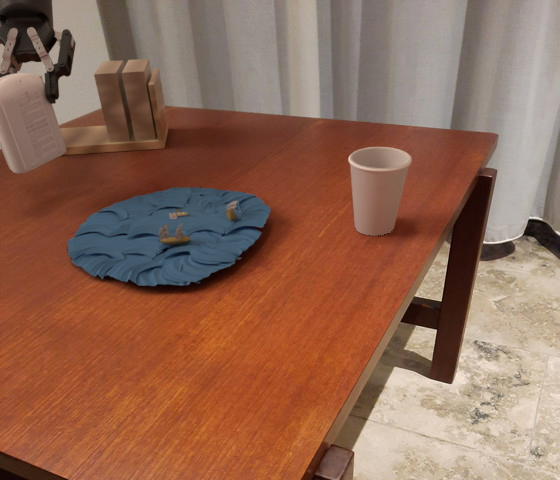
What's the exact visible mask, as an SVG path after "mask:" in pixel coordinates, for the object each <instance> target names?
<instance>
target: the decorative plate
mask: <svg viewBox="0 0 560 480" xmlns="http://www.w3.org/2000/svg"><path fill="white" fill-rule="evenodd" d="M271 210H272V209H271V206H268V205H267V204H266V203H265V202H264V201H263V199H261V198H260V197H258V196H256V195H255V194H254V193H246V192H245V191H240V190H239V191H236V190H227V189H218V188H215V187H213V188H211V187H200V186H195V187H194V186H192V187H189V186H185V187H181V186H180V187H179V186H176V187H175V186H174V187H170V188H167V189H165V190H157V191H155V192H152V193H146V194H143V195H135V196H133V197H129V198H128V199H123V200H122V201H116V202H114V203H113V204H111V205H110V206H106V207H102V208H101V209H100V211H95V212H94V213H91V214H90V215H89V216H88V217H87V219H86V220H85V221H84V222H83V223H81V224H80V225H79V227H78V230H76V231H75V232H74V237H71V238H69V239H68V241H67V246H68V248H67V253H68V257H69V258H71V260H70V262H72V264H74V265H75V266H77V267H81V268H82V270H84V271H85V272H86V273H88V274H89V275H90V276H93V277H94V278H95V277H97V276H98V277H100V279H101V280H104V277H107V276H109V277H110V278H114V279H116V280H119V281H121V282H125V283H128V281H130V282H131V283H134V284H136V285H137V286H142V287H143V286H144V287H146V286H149V287H156V286H157V285H164V286H165V285H170V286H171V285H172V286H179V287H180V286H181V287H183V286H189V285H190V284H191V283H195V284H198V285H199V284H201V282H200V281H201V280H204V279H205V278H208V277H210V275H211V274H212V273H216V272H218V271H220V270H223V269H226V268H230V267H231V266H232V265H235V264H236V260H237V261H238V260H242V257H240V255H242V253H243V252H247V250H248V249H249V248H250V247H252V246H254V244H255V243H256V241H257V240H258V239H259V238H260V236H261V235H262V233H263V232H261V231H260V230H258V229H257V228H260V229H262V228H264V226H265V225H266V224H267V220H268V218H270V214H271Z"/></svg>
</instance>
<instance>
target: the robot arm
mask: <svg viewBox="0 0 560 480" xmlns="http://www.w3.org/2000/svg"><path fill="white" fill-rule="evenodd" d="M53 12H54V11H53V0H0V45H3V47H4V48H3V51H2V55H1V58H2V60H1V63H0V78H1V77H4V76H6V75H10V74H16V73H19V72H20V71H21V69H22V66H23V64H28V63H30V62H34V63H42V65H43V66H44V68H45V70H46V72H44V83H45V91H46V98H47V99H48V101H49V102H50V104H52V105H54V104H56V103H57V100H59V98H60V88H59V87H60V86H59V85H60V84H59V80H60V78H62V77H66V78H67V77H70V76H71V74H72V69H73V64H74V58H75V57H74V56H75V51H76V45H77V43H76V41H75V38H74V37H73V34H72V33H71V30H69V29H67V28H65V29H63V30H62V31H56V30H55V29H54V14H53ZM56 44H58V46H59V51H58V57H57V62H56V63H54V62H53V60H52V58H51V56H50V52H51V51H52V50H53V48H54V46H55V45H56Z"/></svg>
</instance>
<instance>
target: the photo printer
mask: <svg viewBox="0 0 560 480" xmlns="http://www.w3.org/2000/svg"><path fill="white" fill-rule="evenodd" d="M39 76H40V75H37V74H34V73H28V72H21V73H19V72H17V73H16V74H10V75H6V76H4V77H1V78H0V149H1V151H2V154H3V156H4V159H5V161H6V164H7V167H8V168H9V170H10V171H12V173H13V174H27V173H29V172H31V171H33V170H35V169H37V168H39V167H41V166H43V165H45V164H47V163H49V162H51V161H53V160H55V159H57V158H59V157H61V156H64V155H63V154H64V153H66V146H65V143H64V140H63V137H62V134H61V131H60V128H61V127H60V125H59V121H58V118H57V115H56V113H55V109H54V106H53V104H50V102H49V101H48V99H47V98H46V91H45V81H44V79H43V78H42V79H43V80H42V79H41V78H40V77H39Z"/></svg>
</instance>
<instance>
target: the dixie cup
mask: <svg viewBox="0 0 560 480" xmlns="http://www.w3.org/2000/svg"><path fill="white" fill-rule="evenodd" d="M347 160H348V163H349V166H350V180H351V193H352V195H351V196H352V207H353V221H354V229H355V228H356V229H355V231H357V232H358V233H359V234H362V235H366V236H369V235H370V237H380V235H381V236H385V235H384V234H386V235H388V234H387V233H389V234H390V233H392V232H393V231H394V230H393V229H395V225H396V221H397V217H398V213H399V209H400V205H401V200H402V197H403V192H404V188H405V184H406V180H407V175H408V171H409V168H410V165H411V164H412V163H413V162H412V161H413V158H412V156H411V155H410V154H409V153H408V152H406V151H405V150H403V149H399V148H395V147H391V146H390V147H388V146H369V147H363V148H360V149H357V150H355V151H353V152H351V154H350V155H349V156H348V159H347ZM392 230H393V231H392ZM391 231H392V232H391ZM378 235H379V236H378Z"/></svg>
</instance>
